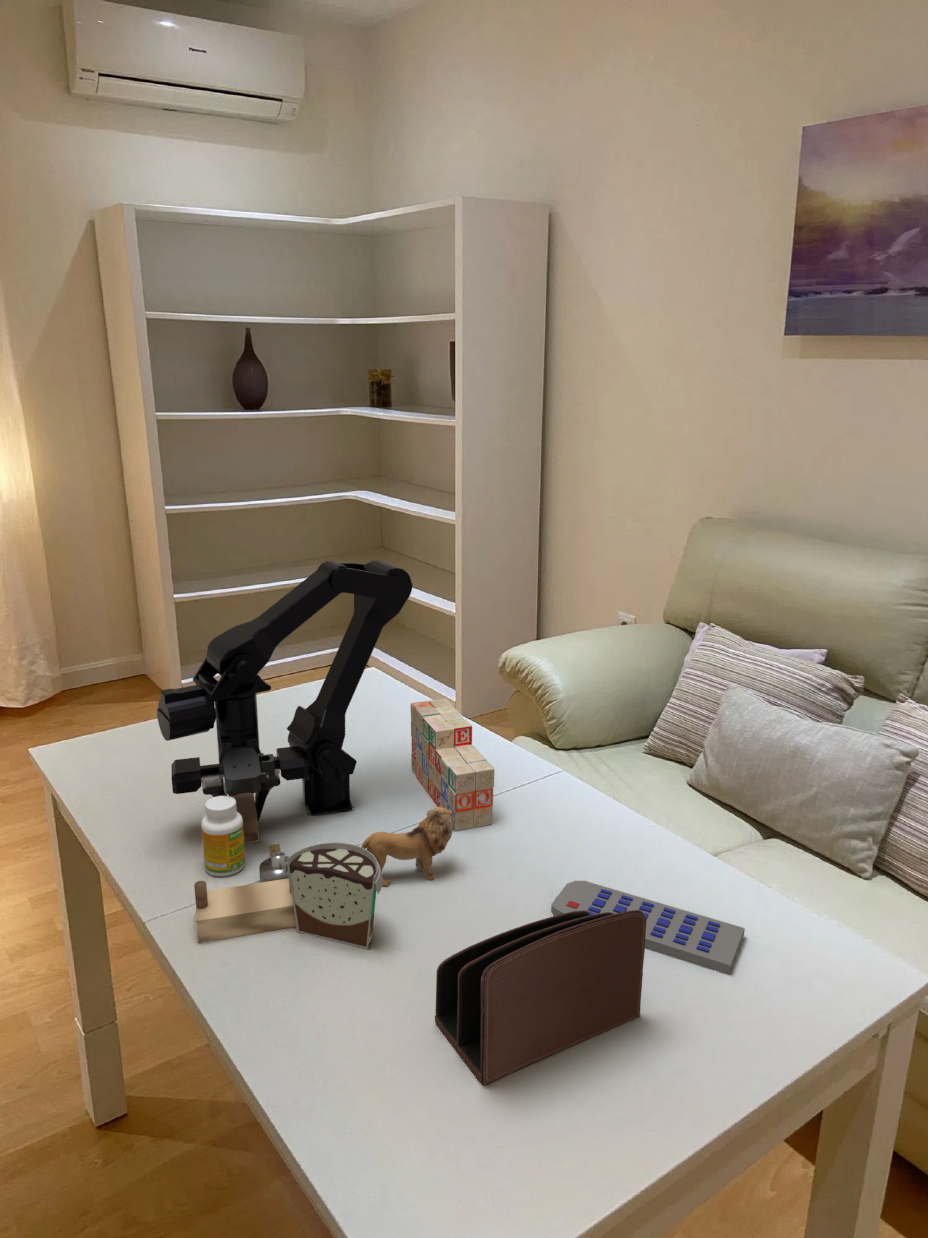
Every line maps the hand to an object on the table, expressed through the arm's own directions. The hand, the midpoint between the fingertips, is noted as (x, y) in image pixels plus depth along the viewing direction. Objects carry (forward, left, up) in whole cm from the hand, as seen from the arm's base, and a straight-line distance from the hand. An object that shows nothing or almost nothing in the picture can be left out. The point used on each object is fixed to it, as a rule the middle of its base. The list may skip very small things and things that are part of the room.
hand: (243, 821), depth 134 cm
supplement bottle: (+3, +10, -1) cm, 10 cm away
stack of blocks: (-32, -2, -1) cm, 32 cm away
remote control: (-46, +37, -2) cm, 59 cm away
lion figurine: (-20, +18, -1) cm, 27 cm away
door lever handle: (-4, +13, -1) cm, 14 cm away
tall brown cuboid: (0, 0, -1) cm, 1 cm away
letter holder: (-27, +49, -1) cm, 56 cm away
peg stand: (+1, +22, -1) cm, 23 cm away
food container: (-10, +27, -1) cm, 29 cm away
